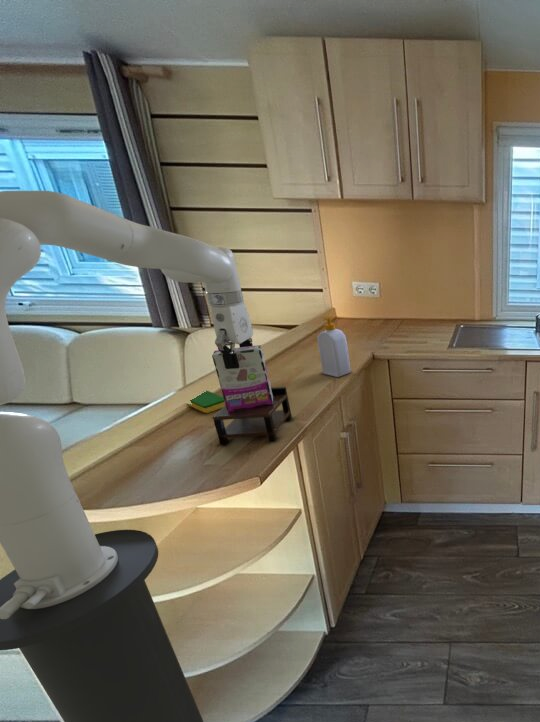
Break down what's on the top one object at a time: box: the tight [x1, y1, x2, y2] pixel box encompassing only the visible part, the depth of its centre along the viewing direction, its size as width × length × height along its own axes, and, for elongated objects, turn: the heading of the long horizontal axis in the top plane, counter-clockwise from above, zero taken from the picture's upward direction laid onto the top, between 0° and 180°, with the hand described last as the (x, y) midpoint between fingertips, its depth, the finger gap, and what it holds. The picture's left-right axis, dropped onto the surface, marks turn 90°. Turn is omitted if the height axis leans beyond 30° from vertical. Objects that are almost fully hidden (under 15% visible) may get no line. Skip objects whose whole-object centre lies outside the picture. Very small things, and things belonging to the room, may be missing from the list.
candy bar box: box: [211, 344, 273, 412], centre depth 110 cm, size 11×5×16 cm, turn 117°
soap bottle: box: [317, 315, 352, 378], centre depth 157 cm, size 9×7×23 cm
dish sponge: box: [187, 390, 226, 414], centre depth 133 cm, size 7×14×2 cm, turn 59°
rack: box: [212, 386, 293, 446], centre depth 115 cm, size 14×14×10 cm
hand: (241, 362), depth 109 cm, fingers open, 8 cm apart
